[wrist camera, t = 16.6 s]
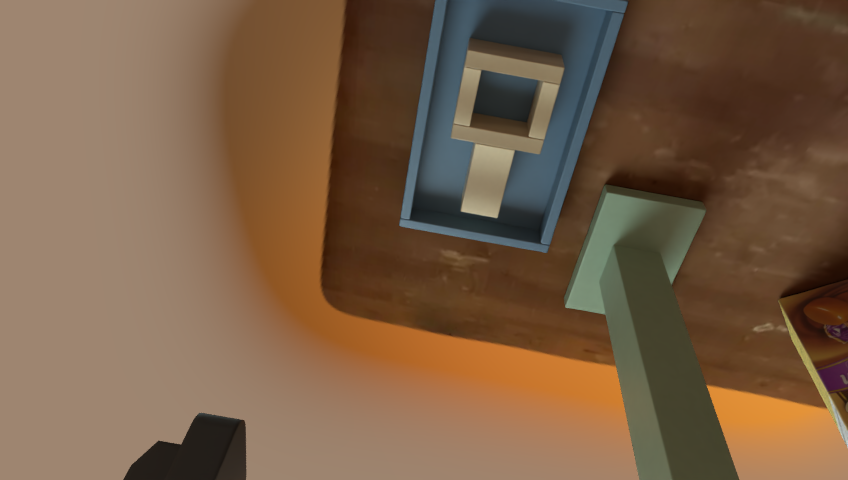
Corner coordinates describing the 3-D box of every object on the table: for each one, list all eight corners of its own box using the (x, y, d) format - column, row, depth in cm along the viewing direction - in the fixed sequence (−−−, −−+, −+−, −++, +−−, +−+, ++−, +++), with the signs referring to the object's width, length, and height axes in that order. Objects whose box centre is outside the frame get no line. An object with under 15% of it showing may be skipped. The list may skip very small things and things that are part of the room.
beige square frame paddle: (469, 37, 35) (467, 49, 34) (561, 54, 35) (565, 67, 34) (439, 190, 41) (436, 207, 39) (520, 205, 41) (520, 222, 39)
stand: (604, 183, 40) (819, 981, 13) (702, 201, 40) (1111, 1031, 13) (563, 298, 45) (660, 1040, 18) (650, 313, 45) (872, 1076, 19)
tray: (443, -43, 34) (440, -34, 32) (622, -10, 34) (628, 1, 32) (402, 209, 42) (398, 226, 41) (545, 235, 42) (547, 253, 41)
